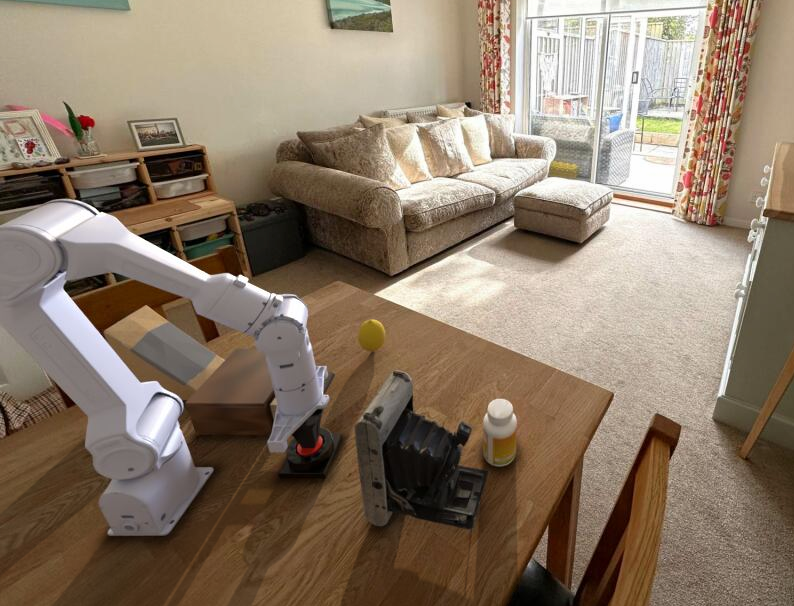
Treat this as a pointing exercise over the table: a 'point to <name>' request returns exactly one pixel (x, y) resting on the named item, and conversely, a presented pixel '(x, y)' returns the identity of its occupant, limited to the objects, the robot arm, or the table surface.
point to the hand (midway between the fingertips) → (310, 444)
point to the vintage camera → (413, 462)
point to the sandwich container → (161, 353)
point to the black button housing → (311, 459)
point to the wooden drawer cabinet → (234, 397)
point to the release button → (310, 449)
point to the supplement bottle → (499, 433)
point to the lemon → (371, 335)
